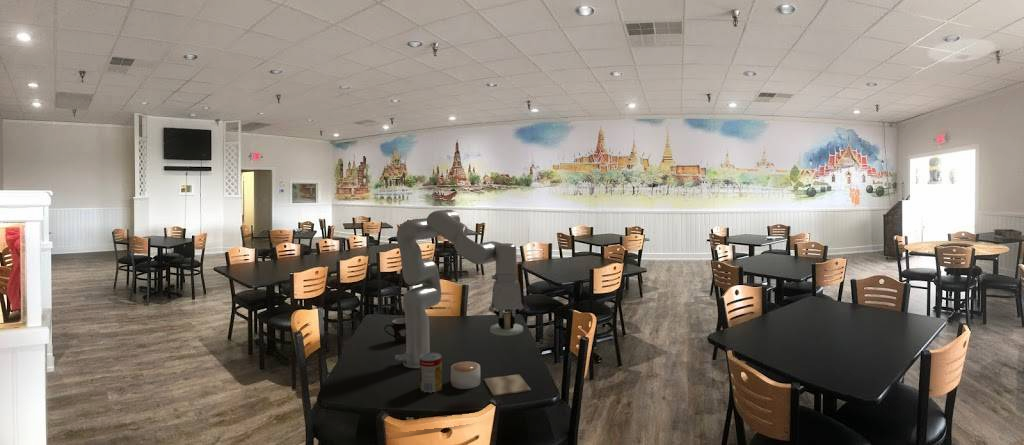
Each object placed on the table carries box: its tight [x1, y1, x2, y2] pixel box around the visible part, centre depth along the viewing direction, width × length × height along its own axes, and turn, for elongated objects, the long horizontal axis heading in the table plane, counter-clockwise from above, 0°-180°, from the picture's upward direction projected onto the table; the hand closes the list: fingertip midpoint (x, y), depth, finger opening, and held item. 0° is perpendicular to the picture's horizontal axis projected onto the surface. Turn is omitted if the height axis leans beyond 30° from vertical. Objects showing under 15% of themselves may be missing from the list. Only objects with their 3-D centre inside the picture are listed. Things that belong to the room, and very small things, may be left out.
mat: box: [483, 373, 532, 397], centre depth 176 cm, size 14×14×1 cm
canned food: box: [419, 352, 443, 394], centre depth 173 cm, size 8×8×12 cm
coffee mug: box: [383, 317, 406, 345], centre depth 224 cm, size 12×9×10 cm
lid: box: [489, 311, 524, 337], centre depth 174 cm, size 12×12×6 cm
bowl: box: [450, 361, 481, 390], centre depth 178 cm, size 11×11×6 cm
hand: (506, 326), depth 174 cm, fingers closed on lid, 3 cm apart
